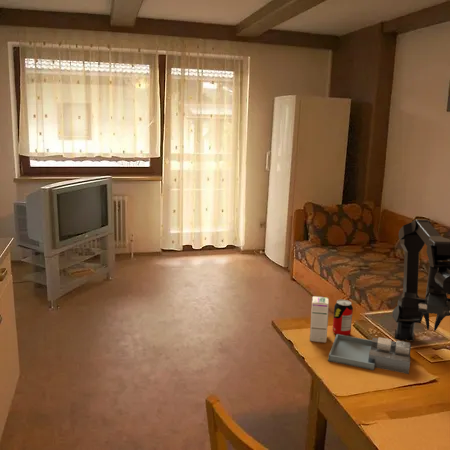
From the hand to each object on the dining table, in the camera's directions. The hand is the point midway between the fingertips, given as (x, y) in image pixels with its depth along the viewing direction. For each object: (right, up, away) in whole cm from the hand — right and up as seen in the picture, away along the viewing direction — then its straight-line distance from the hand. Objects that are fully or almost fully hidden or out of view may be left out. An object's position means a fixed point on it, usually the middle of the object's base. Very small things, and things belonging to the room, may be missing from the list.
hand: (431, 329), depth 146 cm
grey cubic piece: (-7, -9, +5) cm, 13 cm away
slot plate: (-10, -11, +7) cm, 17 cm away
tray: (-21, -10, +11) cm, 26 cm away
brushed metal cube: (-12, -9, +7) cm, 17 cm away
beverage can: (-21, -7, +25) cm, 34 cm away
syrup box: (-31, -8, +21) cm, 38 cm away
